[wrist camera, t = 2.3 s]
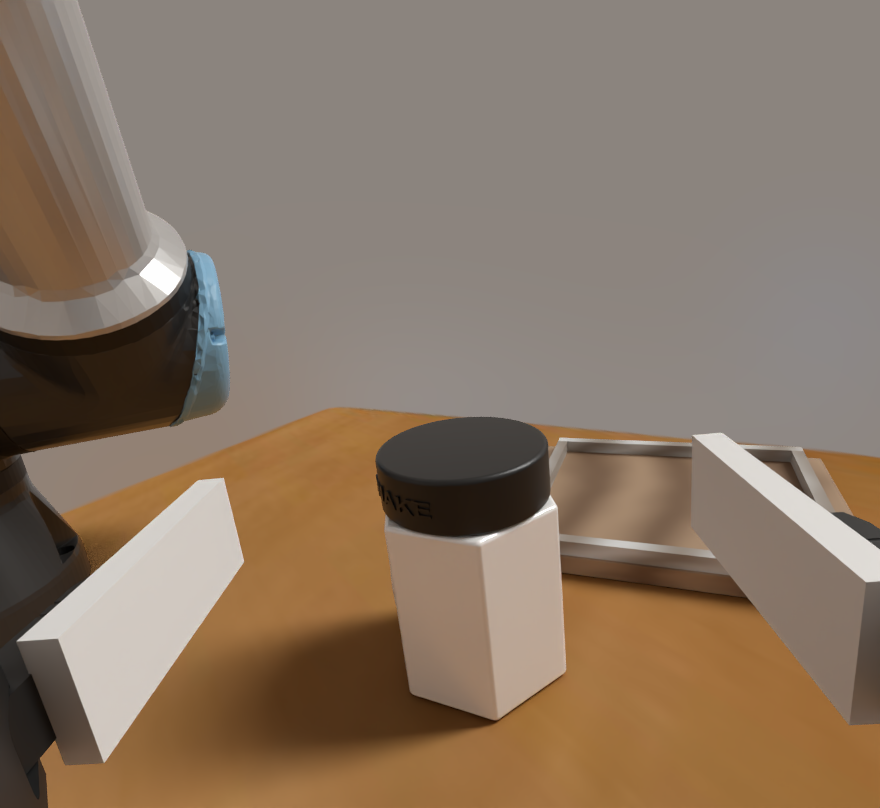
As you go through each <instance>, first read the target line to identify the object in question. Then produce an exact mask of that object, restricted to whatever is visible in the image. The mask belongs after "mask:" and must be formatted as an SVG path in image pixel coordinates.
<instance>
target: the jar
mask: <svg viewBox="0 0 880 808" xmlns="http://www.w3.org/2000/svg"><path fill="white" fill-rule="evenodd" d="M376 468H377V474H376V479H377V485H378V491H379V496H381V500H382V506H383V510H384V512H385V528H384V531H385V538H386V544H387V550H388V556H389V563H390V570H391V581H392V589H393V594H394V598H395V604H396V607H397V613H398V620H399V626H400V632H401V639H402V645H403V651H404V658H405V664H406V670H407V677H408V683H409V689H410V692H411V693H412V694H413V695H415V696H418V697H421V698H425V699H428V700H431V701H434V702H437V703H440V704H443V705H447V706H450V707H453V708H456V709H459V710H462V711H466V712H469V713H472V714H475V715H478V716H481V717H484V718H488V719H491V720H495V721H496V720H499V719H500V718H502V717H503V716H504V715H506V714H507V713H509V712H510V711H511V710H513V709H514V708H516V707H517V706H519V705H520V704H521V703H523V702H524V701H526V700H527V699H528V698H530V697H531V696H533V695H534V694H536V693H537V692H538V691H540V690H541V689H543V688H544V687H546V686H547V685H548V684H550V683H551V682H553V681H554V680H556V679H557V678H558V677H560V676H561V675H563V674H564V673H565V671H566V655H565V636H564V617H563V598H562V579H561V560H560V541H559V522H558V507H557V505H556V503H555V502H554V500H553V498H552V496H551V495H550V492H551V487H550V469H549V451H548V442H547V439H546V437H545V436H544V434H543V433H542V432H541V431H539V430H538V429H537V428H535V427H533V426H531V425H529V424H526V423H523V422H520V421H516V420H511V419H504V418H495V417H466V418H455V419H448V420H442V421H436V422H432V423H428V424H424V425H420V426H417V427H414V428H411V429H409V430H406V431H404V432H402V433H400V434H398V435H396V436H394V437H393V438H391V439H390V440H388V441H387V442H386V443H384V444H383V445H382V446H381V448H380V449H379V451H378V453H377V455H376Z"/></svg>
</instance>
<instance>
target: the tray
mask: <svg viewBox="0 0 880 808" xmlns="http://www.w3.org/2000/svg"><path fill="white" fill-rule="evenodd" d="M739 446H740V447H742V448H743V449H744V450H746V451H747V452H749V453H750V454H751V455H753V456H754V457H755V458H757V459H758V460H759V461H761V462H762V463H763V464H765V465H766V466H767V467H769V468H770V469H772V470H773V471H774V472H776V473H777V474H778V475H780V476H781V477H782V478H784V479H785V480H786V481H788V482H789V483H790V484H792V485H793V486H795V487H796V488H797V489H799V490H800V491H801V492H803V493H804V494H805V495H807V496H808V497H809V498H811V499H812V500H814V501H815V502H816V503H818V504H819V505H820V506H822V507H823V508H824V509H826V510H827V511H828V512H830V513H834V512H845V513H847V514H850V515H852V516H853V514H852V512H851V511H850V509H849V507H848V505H847V504H846V502H845V500H844V498H843V497H842V495H841V493H840V491H839V490H838V488H837V486H836V485H835V483H834V481H833V479H832V478H831V476H830V474H829V472H828V471H827V469H826V467H825V466H824V464H823V462H822V460H821V459H817V458H807V457H806V455H805V453H804V451H803V449H802V448H801V447H783V446H758V445H739ZM548 451H549V469H550V487H551V492H550V495H551V496H552V498H553V500H554V502H555V503H556V505H557V507H558V522H559V541H560V560H561V573H569V574H576V575H583V576H591V577H598V578H605V579H613V580H620V581H627V582H635V583H642V584H649V585H657V586H664V587H671V588H679V589H686V590H693V591H701V592H708V593H715V594H723V595H730V596H737V597H745V598H748V597H747V596H746V595H745V594H744V592H743V591H742V590H741V589H740V587H739V586H738V585H737V584H736V582H735V581H734V580H733V579H732V577H731V576H730V575H729V574H728V572H727V571H726V570H725V569H724V567H723V566H722V565H721V564H720V562H719V561H718V560H717V559H716V557H715V556H714V555H713V554H712V552H711V551H710V550H709V548H708V547H707V546H706V545H705V543H704V542H703V541H702V540H701V538H700V537H699V536H698V535H697V533H696V532H695V531H694V530H693V528H692V527H691V488H692V443H681V442H655V441H629V440H604V439H578V438H560V439H559V441H558V443H557V445H556V447H553V446H548Z"/></svg>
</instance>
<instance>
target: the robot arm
mask: <svg viewBox="0 0 880 808" xmlns="http://www.w3.org/2000/svg"><path fill="white" fill-rule="evenodd" d="M224 334H225V326H224V313H223V307H222V300H221V294H220V288H219V283H218V278H217V274H216V270H215V266H214V263H213V261H212V259H211V258H210V256H208V255H207V254H204V253H199V252H194V251H192V250H188V251H186V248H185V245H184V243H183V241H182V239H181V238H180V236H179V234H178V233H177V231H176V230H175V229H174V228H173V227H172V226H171V225H170V224H169V223H167V222H166V221H164V220H163V219H162V218H160V217H158V216H156V215H154V214H153V213H151V212H148V211H146V209H145V206H144V203H143V200H142V197H141V194H140V191H139V188H138V185H137V182H136V178H135V176H134V172H133V170H132V166H131V163H130V160H129V157H128V154H127V151H126V148H125V145H124V142H123V139H122V136H121V133H120V129H119V126H118V123H117V120H116V117H115V114H114V111H113V108H112V105H111V102H110V99H109V96H108V93H107V90H106V87H105V84H104V81H103V77H102V74H101V71H100V68H99V65H98V63H97V59H96V56H95V53H94V50H93V47H92V44H91V41H90V38H89V35H88V32H87V29H86V25H85V23H84V19H83V16H82V13H81V10H80V7H79V4H78V1H77V0H0V808H48V799H47V783H46V773H45V771H44V768H43V766H42V763H41V761H40V757H41V756H42V755H43V754H44V753H45V751H46V750H47V749H48V748H49V747H50V745H51V744H52V743H53V742H54V741H56V743H57V746H58V748H59V751H60V753H61V756H62V758H63V761H64V763H65V765H78V764H98V763H105V761H106V760H107V758H108V757H109V755H110V754H111V753H112V751H113V750H114V748H115V747H116V745H117V744H118V743H119V741H120V740H121V738H122V737H123V735H124V734H125V732H126V731H127V730H128V728H129V727H130V725H131V724H132V722H133V721H134V720H135V718H136V717H137V715H138V714H139V712H140V711H141V709H142V708H143V707H144V705H145V704H146V702H147V701H148V699H149V698H150V697H151V695H152V694H153V692H154V691H155V689H156V688H157V686H158V685H159V684H160V682H161V681H162V679H163V678H164V676H165V675H166V673H167V672H168V671H169V669H170V668H171V666H172V665H173V663H174V662H175V661H176V659H177V658H178V656H179V655H180V653H181V652H182V650H183V649H184V648H185V646H186V645H187V643H188V642H189V640H190V639H191V638H192V636H193V635H194V633H195V632H196V630H197V629H198V627H199V626H200V625H201V623H202V622H203V620H204V619H205V617H206V616H207V614H208V613H209V612H210V610H211V609H212V607H213V606H214V604H215V603H216V602H217V600H218V599H219V597H220V596H221V594H222V593H223V591H224V590H225V589H226V587H227V586H228V584H229V583H230V581H231V580H232V579H233V577H234V576H235V574H236V573H237V571H238V570H239V568H240V567H241V566H242V564H243V563H244V559H243V555H242V551H241V547H240V543H239V539H238V535H237V530H236V526H235V522H234V518H233V514H232V510H231V506H230V502H229V498H228V494H227V490H226V486H225V482H224V478H218V479H207V480H198V481H197V482H196V483H194V484H193V485H192V486H191V487H190V488H189V489H188V490H187V491H185V492H184V493H183V494H182V495H181V496H180V497H179V498H178V499H176V500H175V501H174V502H173V503H172V504H171V505H170V506H169V507H167V508H166V509H165V510H164V511H163V512H162V513H161V514H159V515H158V516H157V517H156V518H155V519H154V520H153V521H152V522H150V523H149V524H148V525H147V526H146V527H145V528H144V529H143V530H141V531H140V532H139V533H138V534H137V535H136V536H135V537H134V538H132V539H131V540H130V541H129V542H128V543H127V544H126V545H124V546H123V547H122V548H121V549H120V550H119V551H118V552H117V553H115V554H114V555H113V556H112V557H111V558H110V559H109V560H108V561H106V562H105V563H104V564H103V565H102V566H101V567H100V568H99V569H97V570H96V571H95V572H94V573H93V574H92V575H90V571H91V566H90V562H89V559H88V556H87V553H86V551H85V548H84V545H83V542H82V540H81V539H80V537H79V535H78V534H77V533H76V532H75V531H74V530H73V529H72V528H71V526H70V525H69V524H68V523H67V522H66V521H65V520H64V519H63V517H62V516H61V515H60V514H59V513H58V512H57V511H56V510H55V509H54V507H52V505H51V504H50V503H49V502H48V501H47V500H46V498H45V497H44V496H43V495H42V494H41V493H40V492H39V491H38V490H37V488H36V487H35V486H34V485H33V484H32V482H31V480H30V479H29V476H28V474H27V471H26V468H25V465H24V463H23V460H22V457H21V455H20V454H23V453H28V452H35V451H37V450H43V449H48V448H54V447H59V446H64V445H70V444H75V443H80V442H86V441H90V440H97V439H102V438H107V437H113V436H118V435H123V434H129V433H134V432H140V431H145V430H150V429H155V428H161V427H166V426H170V427H172V426H178V425H179V424H181V423H182V422H184V421H187V420H191V419H195V418H199V417H202V416H207V415H211V414H213V413H216V412H217V411H219V410H220V409H221V408H222V407H223V406H224V405H225V403H226V402H227V399H228V396H229V390H230V372H229V357H228V349H227V341H226V337H225V335H224ZM691 527H692V528H693V530H694V531H695V532H696V533H697V535H698V536H699V537H700V538H701V540H702V541H703V542H704V543H705V545H706V546H707V547H708V548H709V550H710V551H711V552H712V554H713V555H714V556H715V557H716V559H717V560H718V561H719V562H720V564H721V565H722V566H723V567H724V569H725V570H726V571H727V572H728V574H729V575H730V576H731V577H732V579H733V580H734V581H735V582H736V584H737V585H738V586H739V587H740V589H741V590H742V591H743V592H744V594H745V595H746V596H747V597H748V599H749V600H750V601H751V602H752V604H753V605H754V606H755V607H756V609H757V610H758V611H759V612H760V614H761V615H762V616H763V617H764V619H765V620H766V621H767V623H768V624H769V625H770V626H771V628H772V629H773V630H774V631H775V633H776V634H777V635H778V636H779V638H780V639H781V640H782V641H783V643H784V644H785V645H786V646H787V648H788V649H789V650H790V651H791V653H792V654H793V655H794V656H795V658H796V659H797V660H798V661H799V663H800V664H801V665H802V666H803V668H804V669H805V670H806V671H807V673H808V674H809V675H810V676H811V678H812V679H813V680H814V681H815V683H816V684H817V685H818V686H819V688H820V689H821V690H822V692H823V693H824V694H825V695H826V697H827V698H828V699H829V700H830V702H831V703H832V704H833V705H834V707H835V708H836V709H837V710H838V712H839V713H840V714H841V715H842V717H843V718H844V719H845V720H846V722H847V723H848V724H849V725H862V724H880V529H879V528H877V527H876V526H874V525H873V524H871V523H869V522H867V521H864V520H862V519H859V518H857V517H855V516H852V515H850V514H847V513H845V512H834V513H830V512H828V511H827V510H826V509H824V508H823V507H822V506H820V505H819V504H818V503H816V502H815V501H814V500H812V499H811V498H809V497H808V496H807V495H805V494H804V493H803V492H801V491H800V490H799V489H797V488H796V487H795V486H793V485H792V484H790V483H789V482H788V481H786V480H785V479H784V478H782V477H781V476H780V475H778V474H777V473H776V472H774V471H773V470H772V469H770V468H769V467H767V466H766V465H765V464H763V463H762V462H761V461H759V460H758V459H757V458H755V457H754V456H753V455H751V454H750V453H749V452H747V451H746V450H744V449H743V448H742V447H740V446H739V445H738V444H736V443H735V442H734V441H732V440H731V439H730V438H728V437H727V436H725V435H724V434H723V433H711V434H701V435H693V436H692V488H691ZM89 575H90V576H89Z"/></svg>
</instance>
